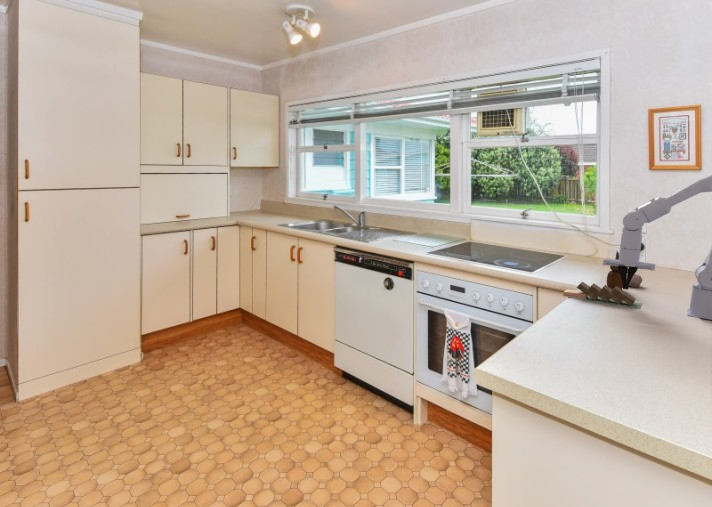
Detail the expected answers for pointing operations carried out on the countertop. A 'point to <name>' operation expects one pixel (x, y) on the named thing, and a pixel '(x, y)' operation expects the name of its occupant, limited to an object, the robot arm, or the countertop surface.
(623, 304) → the mat
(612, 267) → the wooden figurine
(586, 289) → the domino
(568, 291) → the domino end
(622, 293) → the domino
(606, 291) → the domino
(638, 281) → the garlic bulb
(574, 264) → the countertop surface
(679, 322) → the countertop surface
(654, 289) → the countertop surface
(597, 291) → the domino
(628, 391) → the countertop surface
